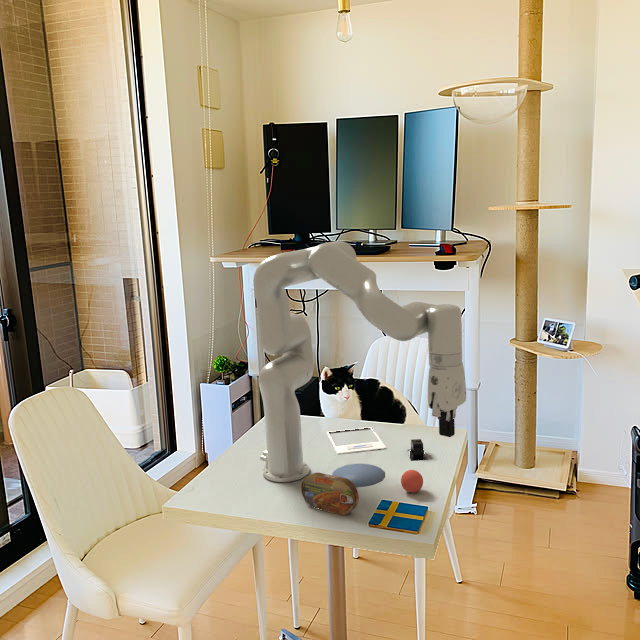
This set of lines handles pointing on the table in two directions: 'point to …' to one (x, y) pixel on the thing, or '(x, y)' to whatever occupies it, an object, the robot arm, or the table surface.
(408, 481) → the ball
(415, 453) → the black block
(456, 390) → the robot arm
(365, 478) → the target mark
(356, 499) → the tin
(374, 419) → the table surface
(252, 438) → the table surface
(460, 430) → the table surface
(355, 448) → the photo frame
